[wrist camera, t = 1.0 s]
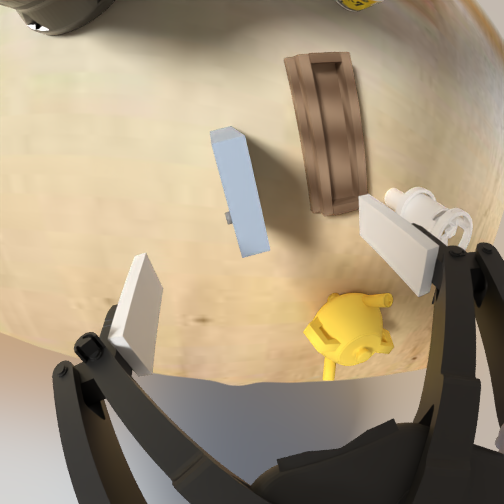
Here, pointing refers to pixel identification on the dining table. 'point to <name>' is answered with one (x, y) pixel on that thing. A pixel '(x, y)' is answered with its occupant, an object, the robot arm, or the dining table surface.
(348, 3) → the supplement bottle
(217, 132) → the door panel
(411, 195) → the strainer
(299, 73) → the track
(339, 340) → the teapot
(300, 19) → the dining table surface
